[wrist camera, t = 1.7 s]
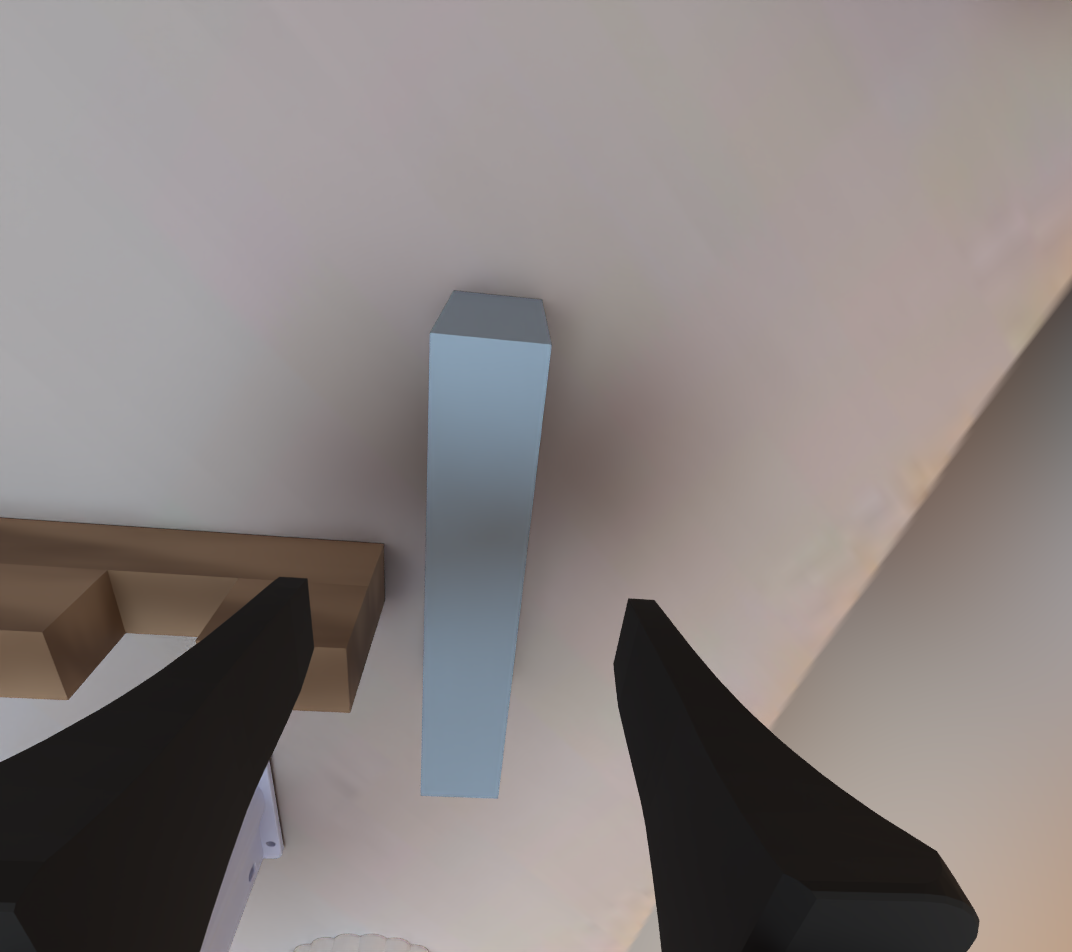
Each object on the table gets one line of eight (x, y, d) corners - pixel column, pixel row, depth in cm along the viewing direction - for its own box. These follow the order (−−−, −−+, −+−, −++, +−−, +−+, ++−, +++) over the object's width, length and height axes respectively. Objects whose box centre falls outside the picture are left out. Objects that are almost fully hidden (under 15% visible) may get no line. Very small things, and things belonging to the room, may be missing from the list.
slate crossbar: (501, 679, 28) (498, 798, 22) (439, 676, 27) (420, 795, 22) (541, 299, 20) (551, 344, 14) (453, 290, 19) (430, 332, 14)
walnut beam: (385, 600, 25) (350, 712, 20) (-105, 570, 24) (-284, 684, 18) (383, 543, 24) (346, 648, 19) (-136, 508, 22) (-339, 611, 17)
